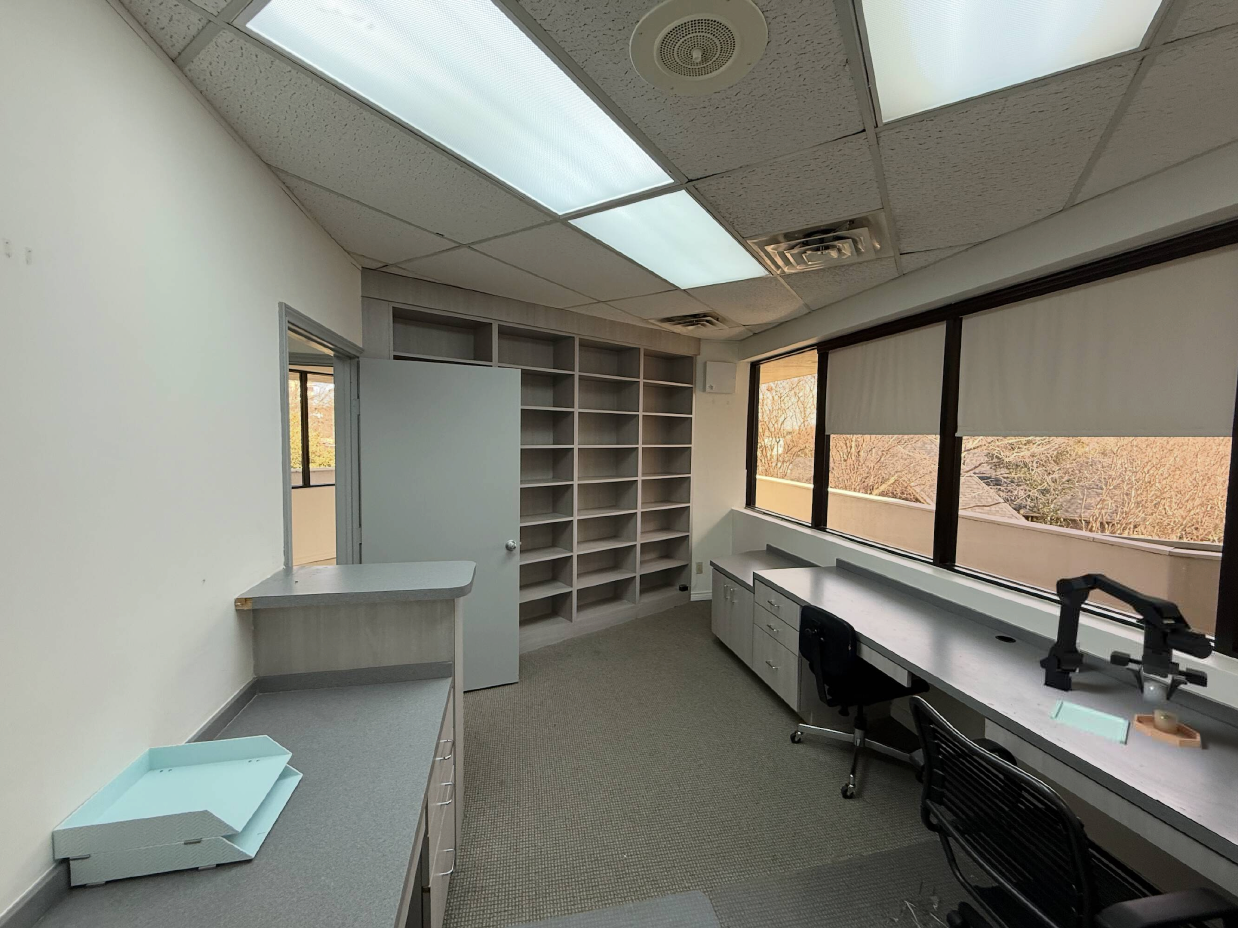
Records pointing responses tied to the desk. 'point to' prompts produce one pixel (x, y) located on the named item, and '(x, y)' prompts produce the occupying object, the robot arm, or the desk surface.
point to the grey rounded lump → (1155, 692)
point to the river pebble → (1166, 721)
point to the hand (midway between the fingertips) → (1155, 696)
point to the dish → (1182, 738)
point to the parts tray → (1090, 721)
